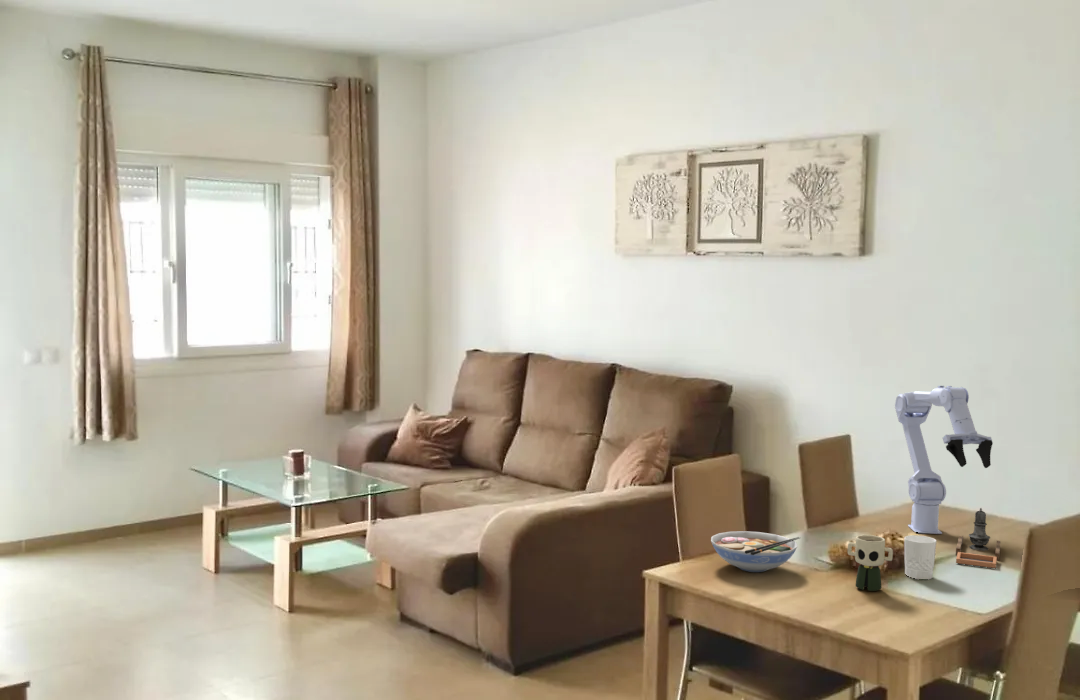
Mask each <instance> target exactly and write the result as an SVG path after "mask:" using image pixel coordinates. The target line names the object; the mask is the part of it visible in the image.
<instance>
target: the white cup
mask: <svg viewBox="0 0 1080 700" xmlns="http://www.w3.org/2000/svg"><path fill="white" fill-rule="evenodd" d="M903 540H904V543H903V544H904V553H903V554H904V575H905V574H906V575H907V576H909V577H908V578H910V577H912V578H911V579H913V578H915V579H914V580H919V579H928V580H931V579H932V578H933V574H934V573H933V572H934V567H935V560H936V549H937V539H935V538H933V537H932V536H931V537H930V536H925V535H918V534H915V535H906V536H904V539H903ZM906 575H905V576H906ZM907 576H906V577H907Z"/></svg>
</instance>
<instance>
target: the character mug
mask: <svg viewBox="0 0 1080 700" xmlns="http://www.w3.org/2000/svg"><path fill="white" fill-rule="evenodd" d="M853 547H854V549H855V550H854V551H852V548H853ZM886 552H888V556H885V554H886ZM847 555H849V556H854V559H855V562H856V563H858V564H859V566H858V568H857V573H856V579H855V587H856V588H857V589H860V590H865V588H867V591H871V592H872V591H873V592H875V591H880V590H881V589H882V579H881V578H882V575H881V569H880V566H882V565H884V563H885V561H887V562H892V561H893V555H894V550H893V548H891V547H886V539H885V538H884V537H882V536H878V535H872V534H861V535H856V537H855V542H848V543H847Z"/></svg>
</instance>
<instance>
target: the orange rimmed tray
mask: <svg viewBox="0 0 1080 700" xmlns="http://www.w3.org/2000/svg"><path fill="white" fill-rule="evenodd" d="M963 542H964V535H959V537H958V539H957V544H956V547H955V556H957V554H958V552H961V551H962V548H963ZM1000 553H1001V540H996V546H995V554H994V556H995V557H997V560H996V561H997V562H998V561H1000Z"/></svg>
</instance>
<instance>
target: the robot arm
mask: <svg viewBox="0 0 1080 700" xmlns="http://www.w3.org/2000/svg"><path fill="white" fill-rule="evenodd" d="M969 398H970V397H969V391H968V390H967V388H965V387H963V386H960V387H955V386H952V385H946V387H945V385H937V387H935V388H933V389H932V390H931V391H918V390H917V391H909V392H904V393H899V394H898V395H897V396H896V399H895V403H894V408H895V413H896V417H897V420H898V422H899V423H900V424H901V426H902V429H903V434H904V437H905V441H906V445H907V448H908V452H909V457H910V461H911V465H912V468H913V472H914V473H913V474H912V475H911V476H910V478H908V481H907V484H908V496H909V497H910V500H911V501H912V502H914V503H913V504H912V506H911V516H910V517H911V520H910V521H911V524H907V526H908V528H910V529H911V530H912V531H913V532H914V533H915V532H918V533H917V534H935V535H942V534H943V532H942V531H941V530H940V529H939V516H940V515H939V512H940V505H942V502H944V501H945V499H946V496H947V488H946V485H945V484H944V482H943V480H942V477H941V476H940V474H937V473H936V472H934V471H933V470H932V467H931V463H930V459H929V456H928V453H927V448H926V444H925V440H924V437H923V433H922V429H921V425H922V424H924V423H926V421H927V418H928V416H929V414H930V412H931V410H932V405H933V406H935V407H943V409H944V411H945V412H946V413H948V415H949V419H950V424H951V427H952V430H953V434H945V435H944V436H943V437H942V441H943V444H945V448H946V450H947V451H948V452H949V453H950V454H951V455H952V456H953V457H954V459H955V460H956V462H957V463H958V464H959V466H960V468H963V467H964V466H966V465H967V464H968V463H967V459H966V456H965V455H966V454H965V452H964V445H971V444H972V445H978V447H977V448H975V451H976V453H977V454H978V455H979V457H980V460H981V462H982V465H983V467H984V469H987V468H989V467H990V466H991V465H992V464H991V452H992V448H993V443H994V442H993V439H992V437H991V436H987V435H983V434H980V433H978V430H976V428H975V424H974V421H973V418H972V415H971V412H970V408H969V406H968V402H969Z"/></svg>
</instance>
